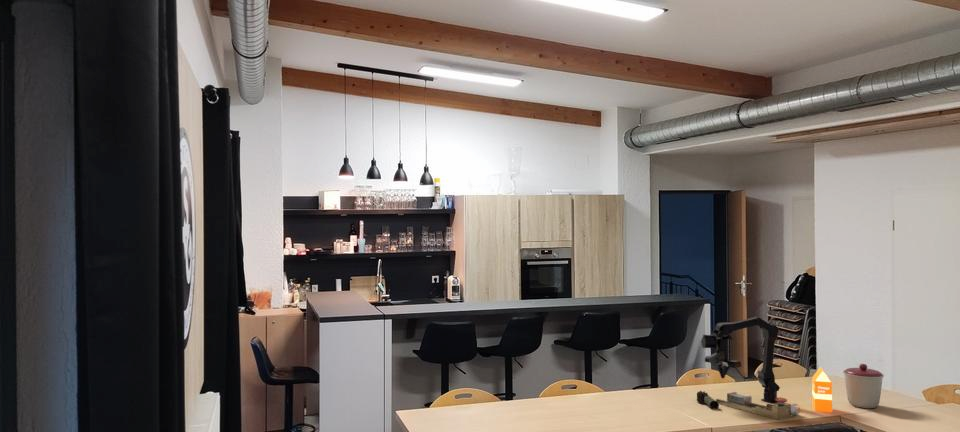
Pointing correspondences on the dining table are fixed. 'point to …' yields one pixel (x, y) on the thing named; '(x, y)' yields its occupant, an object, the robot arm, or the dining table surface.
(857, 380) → the canister
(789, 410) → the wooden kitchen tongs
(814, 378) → the orange juice
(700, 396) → the grey brown wooden log
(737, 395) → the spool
